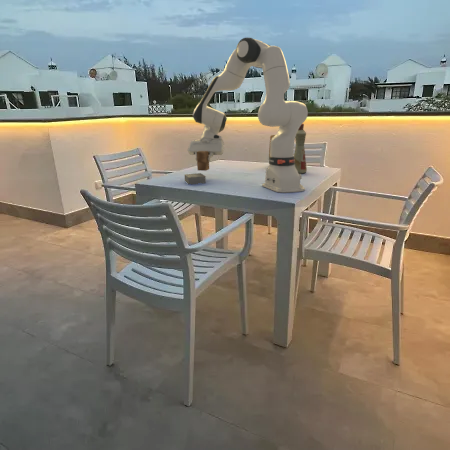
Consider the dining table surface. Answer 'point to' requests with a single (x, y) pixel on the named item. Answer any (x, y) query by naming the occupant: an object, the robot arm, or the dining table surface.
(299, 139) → the bottle
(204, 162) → the walnut block
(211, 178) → the dining table surface
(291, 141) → the robot arm
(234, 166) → the dining table surface
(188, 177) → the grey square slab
